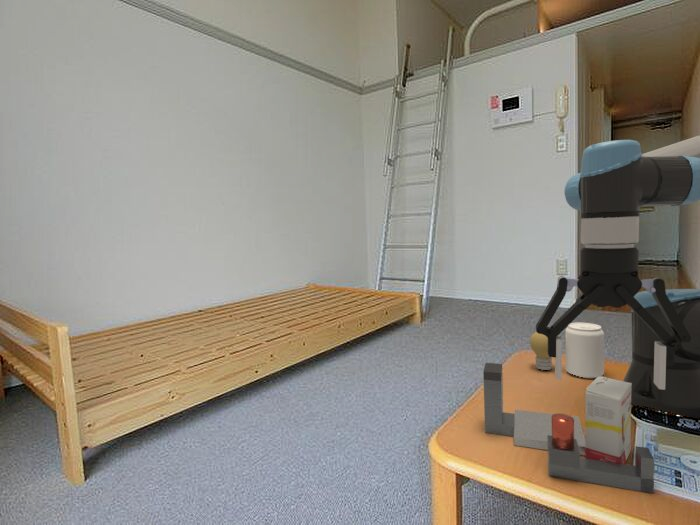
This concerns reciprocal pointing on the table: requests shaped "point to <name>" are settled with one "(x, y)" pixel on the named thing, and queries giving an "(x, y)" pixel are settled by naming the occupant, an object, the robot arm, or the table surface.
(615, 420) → the ink box
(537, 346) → the light bulb
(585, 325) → the beverage can
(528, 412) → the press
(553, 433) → the red cylinder
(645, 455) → the rail
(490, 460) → the table surface
